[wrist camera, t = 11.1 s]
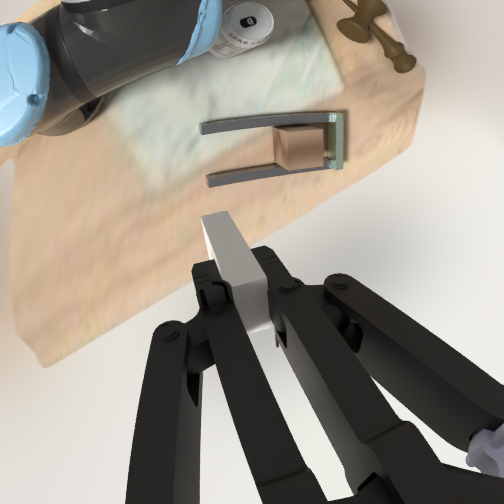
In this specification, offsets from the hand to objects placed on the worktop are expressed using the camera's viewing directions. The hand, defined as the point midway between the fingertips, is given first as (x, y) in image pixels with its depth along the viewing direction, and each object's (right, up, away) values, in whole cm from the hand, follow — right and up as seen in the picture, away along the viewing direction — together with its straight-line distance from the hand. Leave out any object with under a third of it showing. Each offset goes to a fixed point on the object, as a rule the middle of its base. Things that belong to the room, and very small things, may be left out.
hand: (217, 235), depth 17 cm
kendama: (+23, +40, +24) cm, 52 cm away
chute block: (+8, +17, +32) cm, 37 cm away
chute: (+5, +17, +31) cm, 35 cm away
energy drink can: (-2, +31, +20) cm, 37 cm away
